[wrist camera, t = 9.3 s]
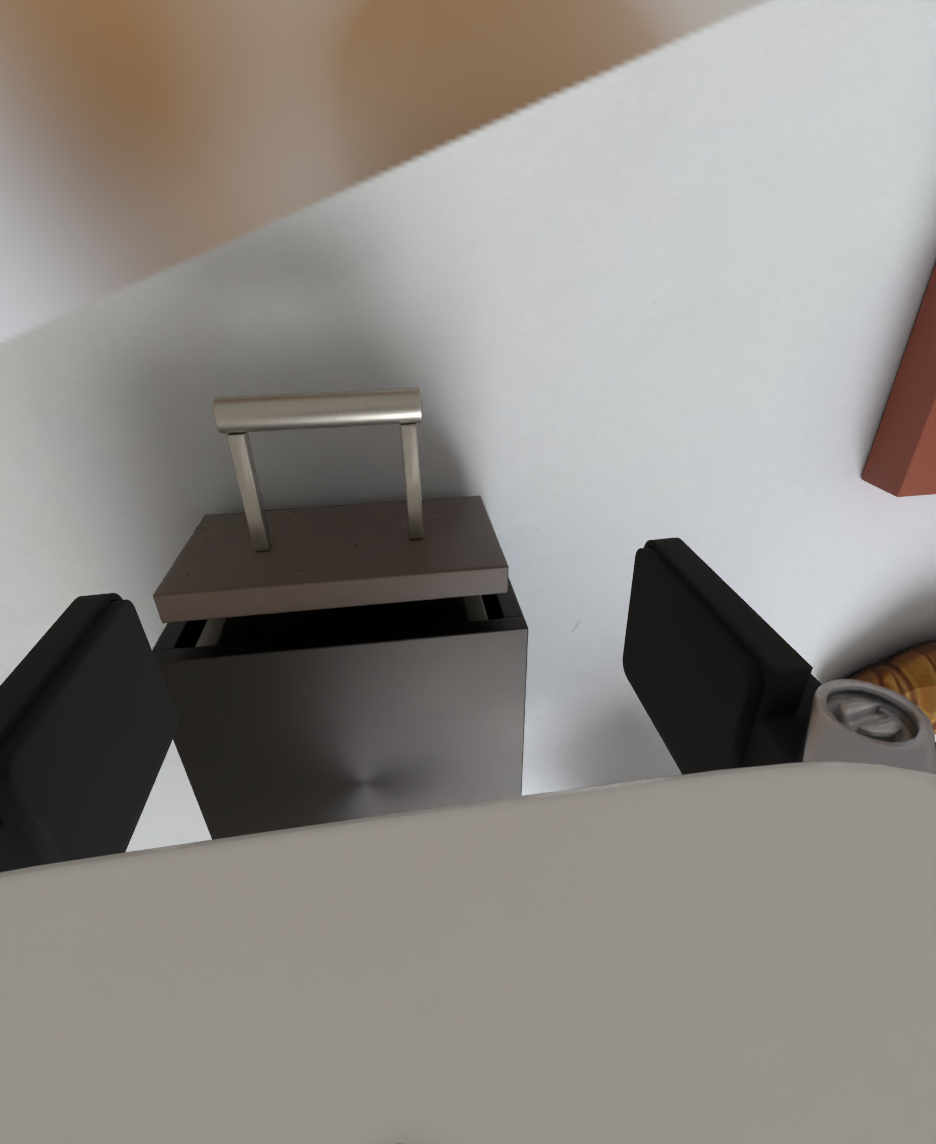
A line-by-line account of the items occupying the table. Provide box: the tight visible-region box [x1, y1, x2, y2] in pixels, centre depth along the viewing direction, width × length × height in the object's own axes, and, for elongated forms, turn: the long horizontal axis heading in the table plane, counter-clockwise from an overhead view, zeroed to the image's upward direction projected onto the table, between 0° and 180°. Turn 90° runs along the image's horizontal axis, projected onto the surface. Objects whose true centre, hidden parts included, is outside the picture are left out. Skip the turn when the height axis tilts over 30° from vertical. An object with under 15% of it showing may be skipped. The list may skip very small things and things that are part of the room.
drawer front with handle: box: [153, 388, 508, 647], centre depth 25 cm, size 19×12×7 cm, turn 1°
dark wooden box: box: [152, 577, 528, 840], centre depth 28 cm, size 15×14×9 cm
